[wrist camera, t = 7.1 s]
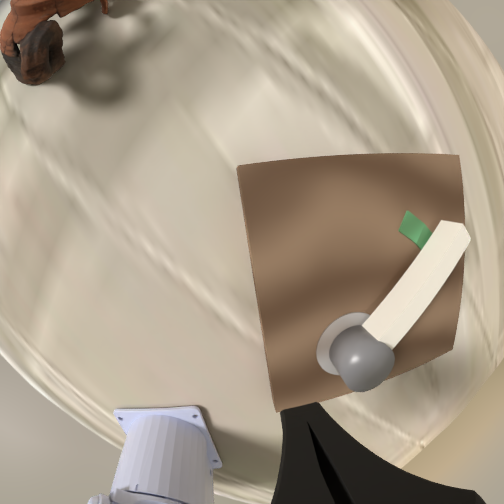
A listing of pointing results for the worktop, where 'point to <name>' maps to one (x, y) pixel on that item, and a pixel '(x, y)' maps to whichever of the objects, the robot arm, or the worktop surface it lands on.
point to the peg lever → (397, 311)
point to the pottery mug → (36, 37)
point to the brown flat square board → (344, 258)
